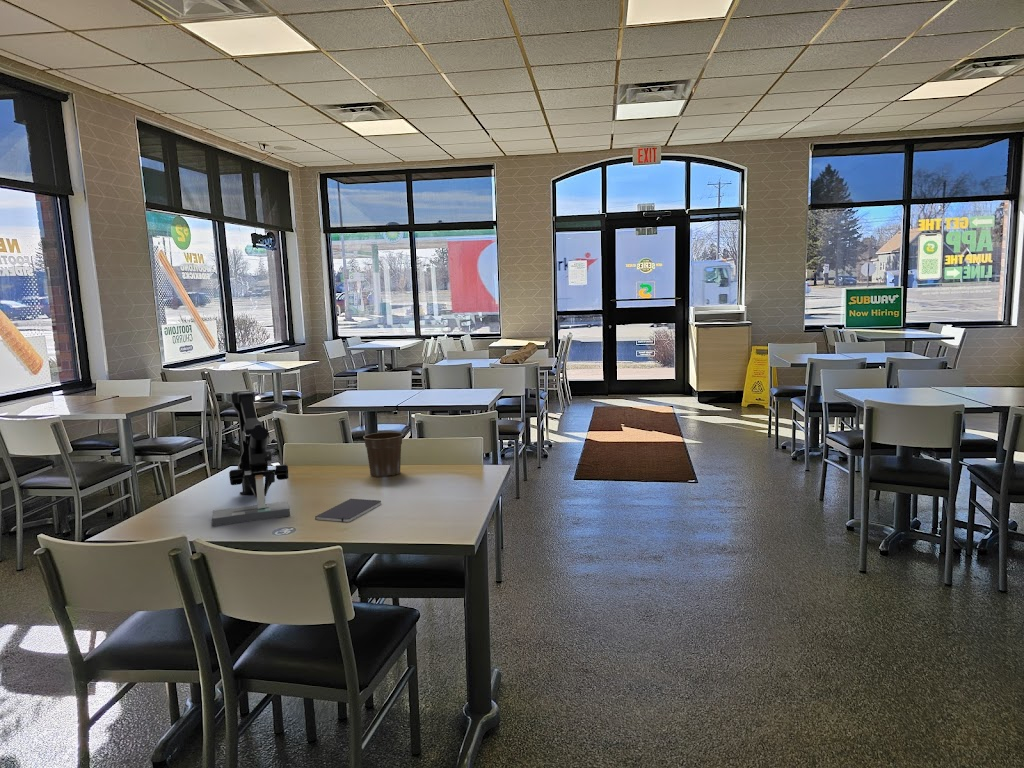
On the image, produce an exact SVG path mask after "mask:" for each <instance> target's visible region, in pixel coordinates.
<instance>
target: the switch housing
mask: <svg viewBox="0 0 1024 768" xmlns="http://www.w3.org/2000/svg"><path fill="white" fill-rule="evenodd" d="M265 507H266V508H260V509H258V504H256V505H255V504H253V505H248V506H247V505H246V506H238V507H231V508H222V509H215V510H213V511H212V516H211V525H212V526H213V527H215V526H223V525H229V524H237V523H244V522H252V521H260V520H266V519H267V520H268V519H273V518H282V517H290V516H291V509H290V503H289V501H288V500H286V501H278V502H271V503H265Z"/></svg>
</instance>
